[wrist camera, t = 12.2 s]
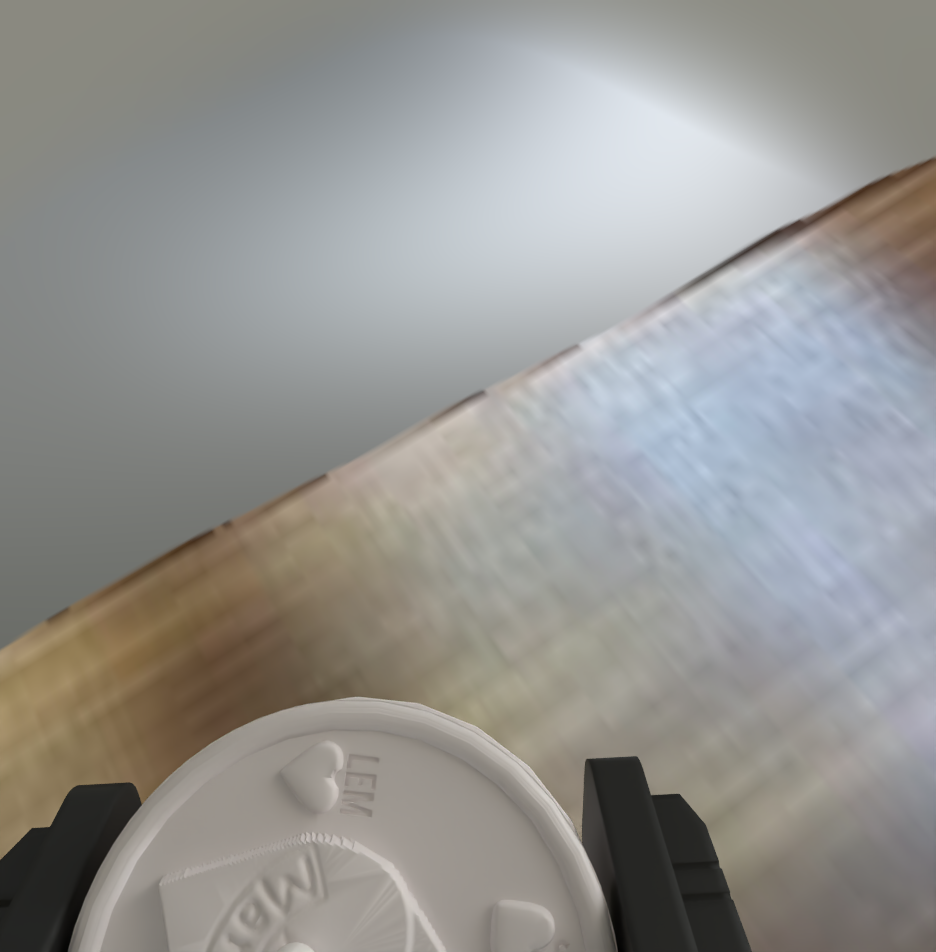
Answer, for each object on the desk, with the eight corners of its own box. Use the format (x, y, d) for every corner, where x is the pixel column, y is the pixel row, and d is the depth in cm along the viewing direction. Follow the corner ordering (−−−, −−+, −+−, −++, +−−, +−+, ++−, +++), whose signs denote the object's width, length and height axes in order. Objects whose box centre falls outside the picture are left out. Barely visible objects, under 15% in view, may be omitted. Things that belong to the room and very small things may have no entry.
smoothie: (358, 663, 19) (108, 508, 6) (592, 797, 18) (941, 980, 5) (210, 921, 17) (-649, 1563, 4) (461, 1085, 16) (442, 2639, 3)
